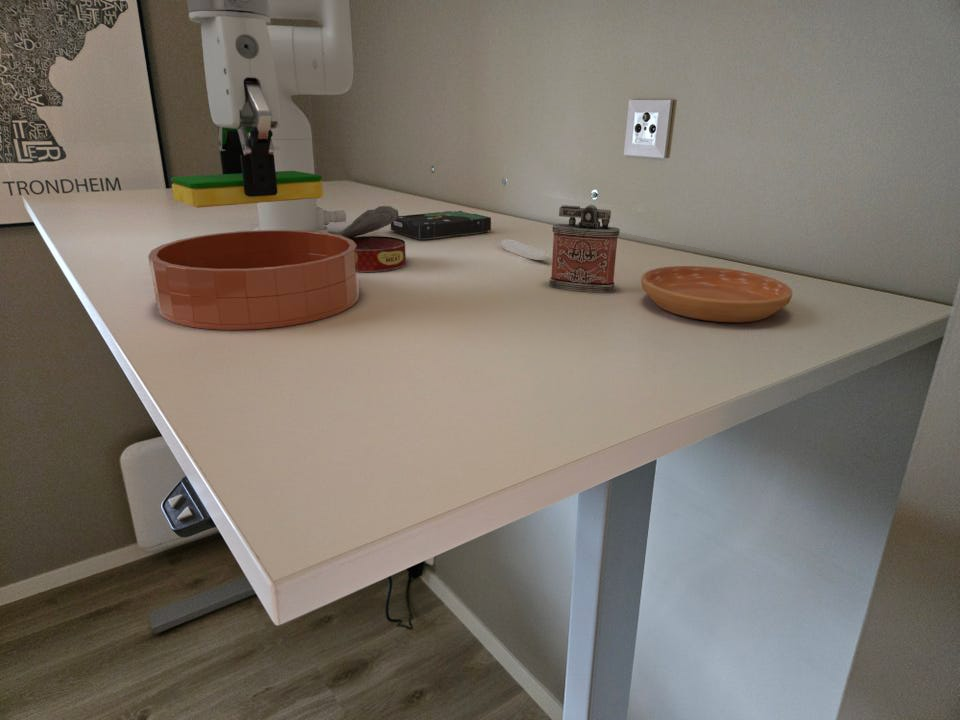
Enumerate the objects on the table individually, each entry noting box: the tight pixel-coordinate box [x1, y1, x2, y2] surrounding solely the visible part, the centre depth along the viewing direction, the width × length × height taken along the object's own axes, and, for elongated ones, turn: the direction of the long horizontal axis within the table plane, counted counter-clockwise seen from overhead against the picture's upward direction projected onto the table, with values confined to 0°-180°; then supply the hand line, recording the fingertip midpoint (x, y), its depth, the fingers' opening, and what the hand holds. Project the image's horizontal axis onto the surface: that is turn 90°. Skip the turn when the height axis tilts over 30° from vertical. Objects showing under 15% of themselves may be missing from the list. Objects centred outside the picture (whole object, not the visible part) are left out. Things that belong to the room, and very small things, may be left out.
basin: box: [147, 230, 360, 331], centre depth 73 cm, size 22×22×6 cm
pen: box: [500, 238, 552, 261], centre depth 97 cm, size 2×14×2 cm, turn 27°
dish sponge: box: [170, 171, 324, 209], centre depth 69 cm, size 7×14×2 cm, turn 130°
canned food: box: [337, 205, 407, 273], centre depth 90 cm, size 11×10×10 cm
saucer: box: [640, 265, 793, 323], centre depth 73 cm, size 16×16×3 cm
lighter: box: [549, 204, 621, 293], centre depth 79 cm, size 8×3×10 cm, turn 71°
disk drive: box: [390, 210, 492, 240], centre depth 114 cm, size 10×3×15 cm
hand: (249, 190), depth 70 cm, fingers closed on dish sponge, 7 cm apart
